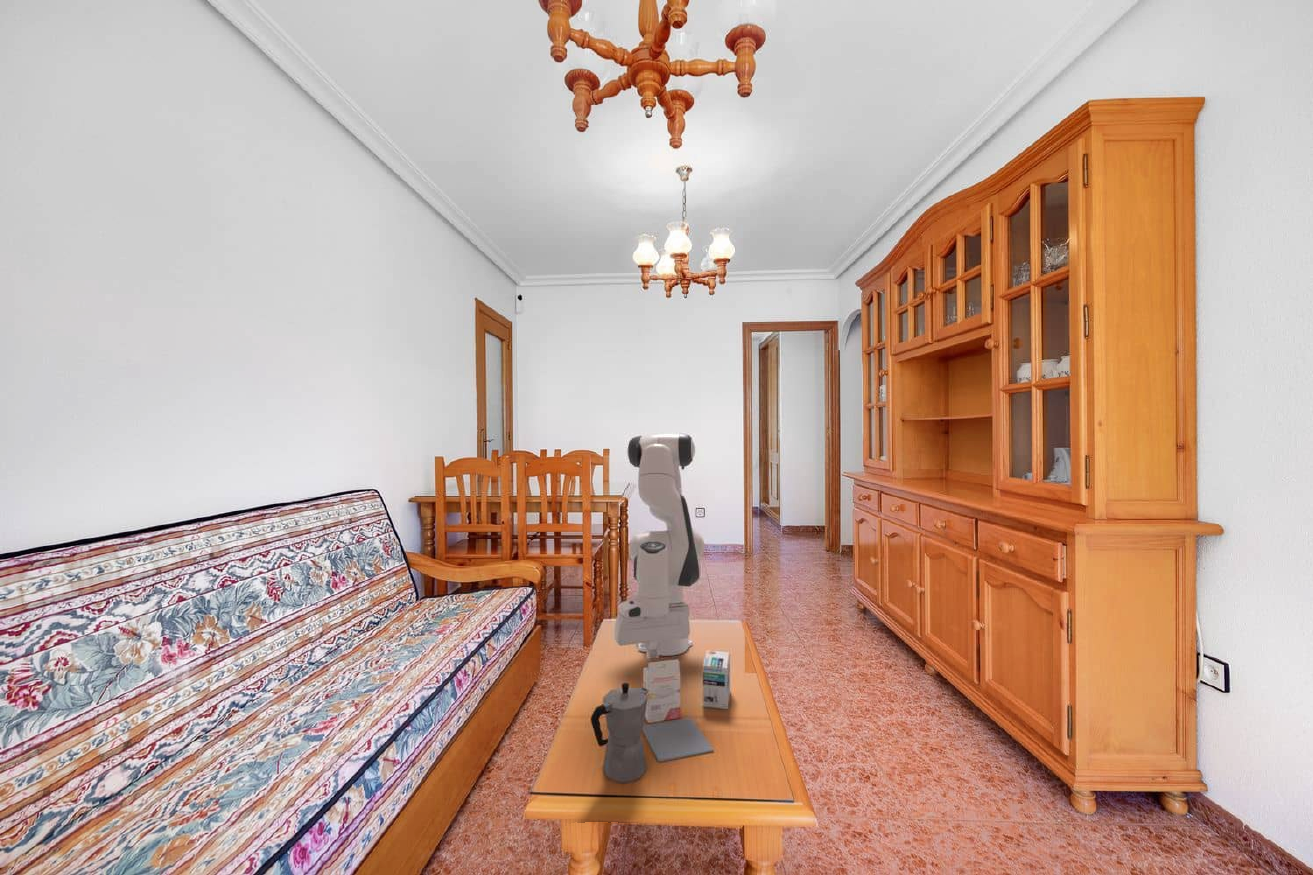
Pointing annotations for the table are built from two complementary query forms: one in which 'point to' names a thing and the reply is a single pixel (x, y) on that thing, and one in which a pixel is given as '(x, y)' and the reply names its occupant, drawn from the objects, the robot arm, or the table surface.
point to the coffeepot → (622, 733)
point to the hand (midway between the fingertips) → (652, 657)
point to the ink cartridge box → (662, 690)
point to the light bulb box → (716, 679)
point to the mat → (676, 739)
